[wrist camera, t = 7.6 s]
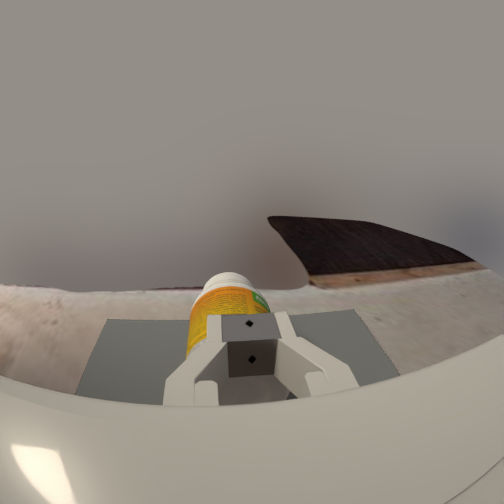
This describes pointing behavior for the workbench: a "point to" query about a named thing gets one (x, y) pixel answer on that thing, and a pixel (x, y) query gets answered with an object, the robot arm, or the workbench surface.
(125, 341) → the mat
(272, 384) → the supplement bottle
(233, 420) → the robot arm
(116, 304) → the workbench surface
